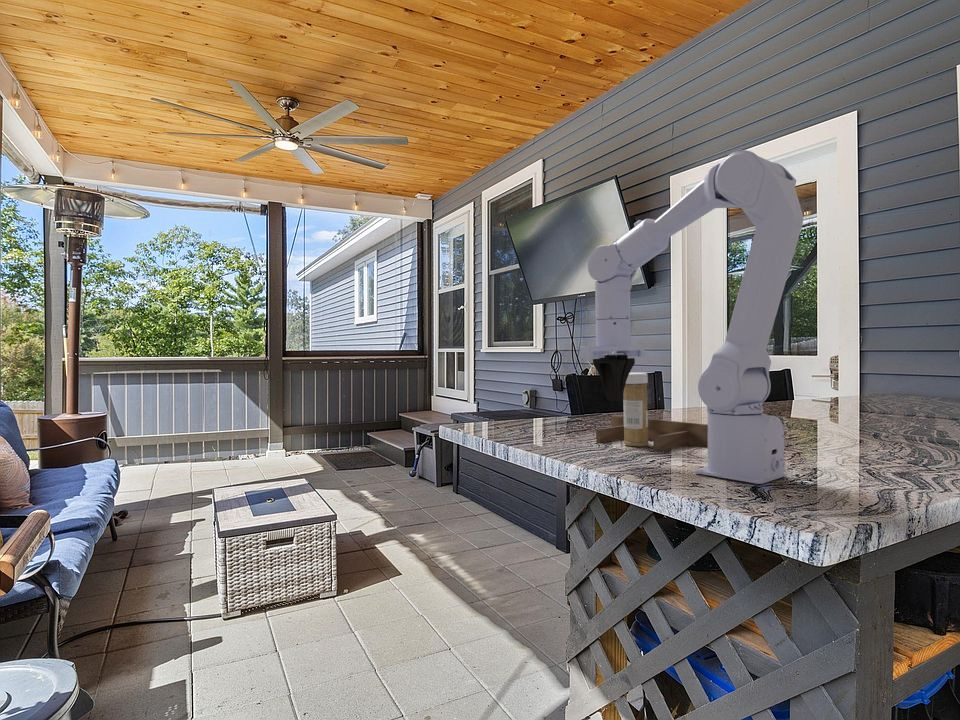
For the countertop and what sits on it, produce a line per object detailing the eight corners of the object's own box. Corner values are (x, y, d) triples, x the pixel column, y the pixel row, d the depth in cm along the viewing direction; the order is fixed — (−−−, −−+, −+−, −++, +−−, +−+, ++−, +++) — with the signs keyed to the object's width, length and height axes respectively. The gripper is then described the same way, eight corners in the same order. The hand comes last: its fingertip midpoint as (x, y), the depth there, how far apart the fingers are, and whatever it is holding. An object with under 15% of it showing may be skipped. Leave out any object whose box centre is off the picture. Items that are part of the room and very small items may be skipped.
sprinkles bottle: (653, 444, 109) (652, 372, 108) (639, 447, 106) (638, 373, 105) (632, 441, 112) (631, 371, 112) (618, 445, 109) (617, 373, 109)
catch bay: (712, 447, 106) (712, 424, 106) (678, 454, 99) (678, 430, 99) (614, 434, 123) (614, 415, 123) (579, 439, 116) (579, 419, 116)
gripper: (621, 321, 106) (622, 396, 106) (565, 320, 97) (566, 402, 97) (654, 319, 100) (655, 398, 101) (598, 318, 91) (599, 404, 92)
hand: (614, 400), depth 99 cm, fingers closed
